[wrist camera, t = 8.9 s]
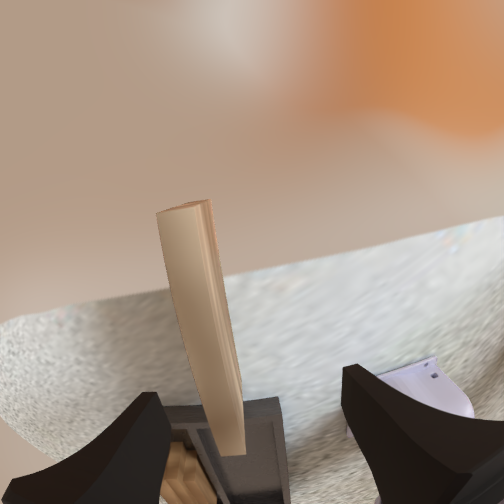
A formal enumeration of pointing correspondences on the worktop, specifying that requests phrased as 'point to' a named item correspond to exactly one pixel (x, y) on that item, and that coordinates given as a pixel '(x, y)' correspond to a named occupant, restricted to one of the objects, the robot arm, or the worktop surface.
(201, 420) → the rack
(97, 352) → the worktop surface
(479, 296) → the worktop surface
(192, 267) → the birch sheet
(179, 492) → the oak offcuts
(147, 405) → the robot arm
